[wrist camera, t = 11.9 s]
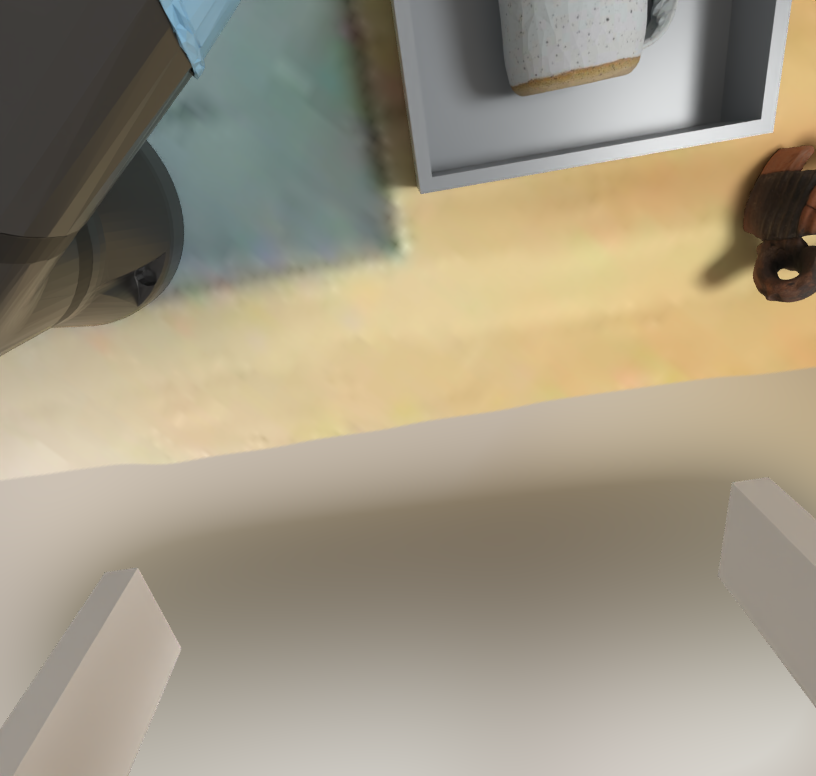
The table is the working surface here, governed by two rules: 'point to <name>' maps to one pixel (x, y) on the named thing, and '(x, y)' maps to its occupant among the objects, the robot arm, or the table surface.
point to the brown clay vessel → (784, 225)
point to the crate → (581, 91)
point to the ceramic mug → (576, 40)
